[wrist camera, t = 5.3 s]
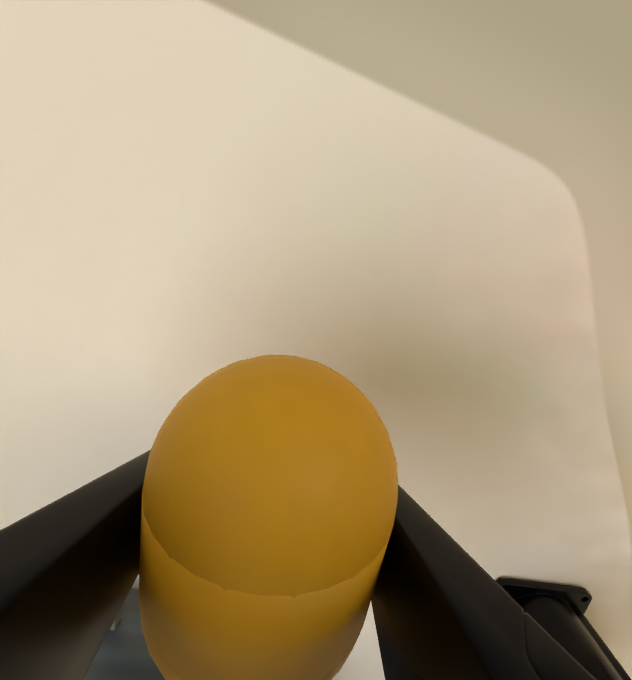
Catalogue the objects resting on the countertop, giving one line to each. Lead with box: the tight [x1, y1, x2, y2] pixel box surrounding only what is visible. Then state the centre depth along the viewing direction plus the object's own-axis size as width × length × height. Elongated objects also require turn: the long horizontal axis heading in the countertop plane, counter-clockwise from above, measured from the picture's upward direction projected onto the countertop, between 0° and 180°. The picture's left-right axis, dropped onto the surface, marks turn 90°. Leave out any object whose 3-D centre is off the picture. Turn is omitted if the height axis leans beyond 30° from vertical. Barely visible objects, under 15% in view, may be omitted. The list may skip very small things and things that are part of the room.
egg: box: [139, 355, 398, 680], centre depth 6 cm, size 6×4×4 cm
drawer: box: [84, 575, 165, 680], centre depth 18 cm, size 18×12×7 cm, turn 170°
